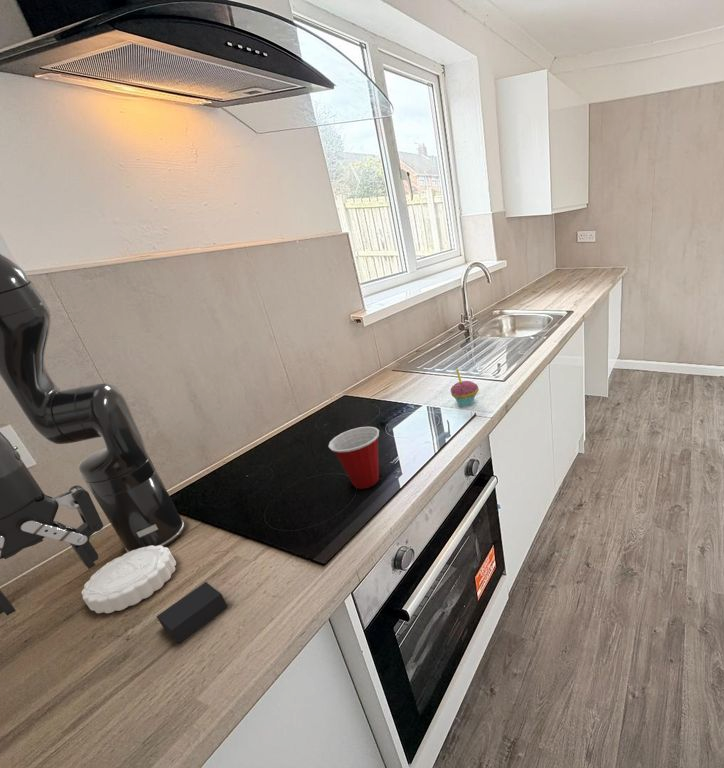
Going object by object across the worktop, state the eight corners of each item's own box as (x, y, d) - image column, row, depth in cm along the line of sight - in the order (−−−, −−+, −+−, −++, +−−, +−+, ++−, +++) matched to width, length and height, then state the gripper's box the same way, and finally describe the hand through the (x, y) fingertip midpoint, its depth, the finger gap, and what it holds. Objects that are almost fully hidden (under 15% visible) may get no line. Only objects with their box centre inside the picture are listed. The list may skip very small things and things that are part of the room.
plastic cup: (372, 462, 102) (362, 419, 98) (399, 476, 96) (389, 432, 91) (332, 485, 95) (318, 440, 90) (357, 502, 88) (344, 455, 84)
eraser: (164, 629, 64) (156, 616, 63) (212, 594, 69) (205, 581, 68) (179, 644, 61) (170, 630, 60) (227, 606, 67) (221, 593, 66)
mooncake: (174, 546, 80) (166, 532, 79) (179, 583, 72) (171, 568, 71) (91, 583, 73) (81, 569, 72) (87, 629, 65) (75, 613, 64)
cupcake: (447, 407, 127) (441, 371, 122) (462, 395, 134) (457, 361, 129) (470, 411, 123) (465, 374, 119) (485, 399, 130) (481, 364, 125)
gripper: (51, 435, 51) (113, 537, 58) (-151, 506, 40) (-45, 622, 47) (71, 449, 48) (135, 556, 54) (-146, 531, 36) (-31, 653, 43)
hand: (51, 586), depth 51 cm, fingers open, 6 cm apart
